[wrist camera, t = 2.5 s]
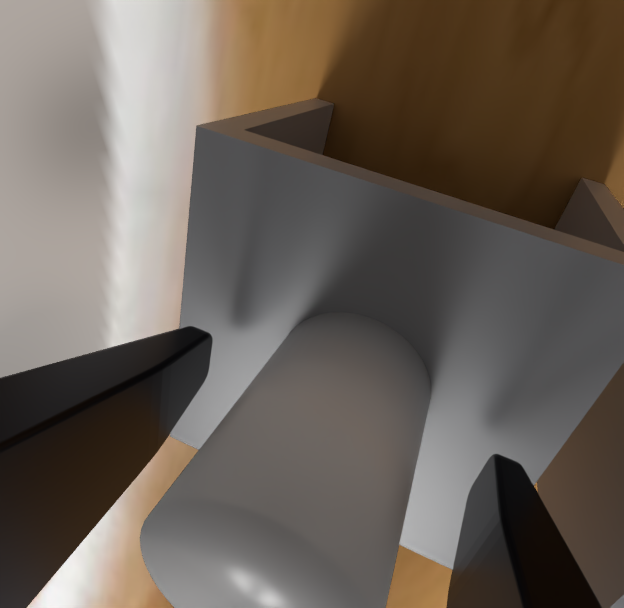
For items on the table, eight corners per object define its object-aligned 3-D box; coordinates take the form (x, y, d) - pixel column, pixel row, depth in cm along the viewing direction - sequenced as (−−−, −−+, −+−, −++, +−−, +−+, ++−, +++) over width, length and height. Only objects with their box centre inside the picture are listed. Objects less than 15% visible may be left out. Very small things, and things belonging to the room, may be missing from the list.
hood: (269, 323, 16) (23, 603, 8) (316, 97, 12) (-65, 185, 4) (479, 408, 14) (447, 852, 6) (604, 184, 11) (901, 572, 3)
